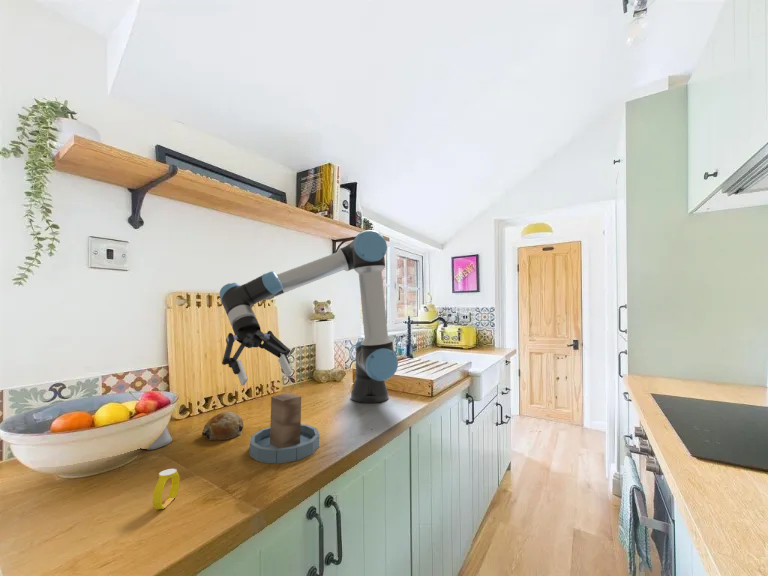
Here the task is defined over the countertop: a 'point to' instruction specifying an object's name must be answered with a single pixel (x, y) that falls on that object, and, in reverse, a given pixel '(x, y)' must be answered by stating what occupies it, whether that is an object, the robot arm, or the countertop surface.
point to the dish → (272, 454)
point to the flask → (161, 440)
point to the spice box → (285, 420)
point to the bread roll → (223, 426)
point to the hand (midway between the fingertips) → (268, 378)
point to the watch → (160, 486)
